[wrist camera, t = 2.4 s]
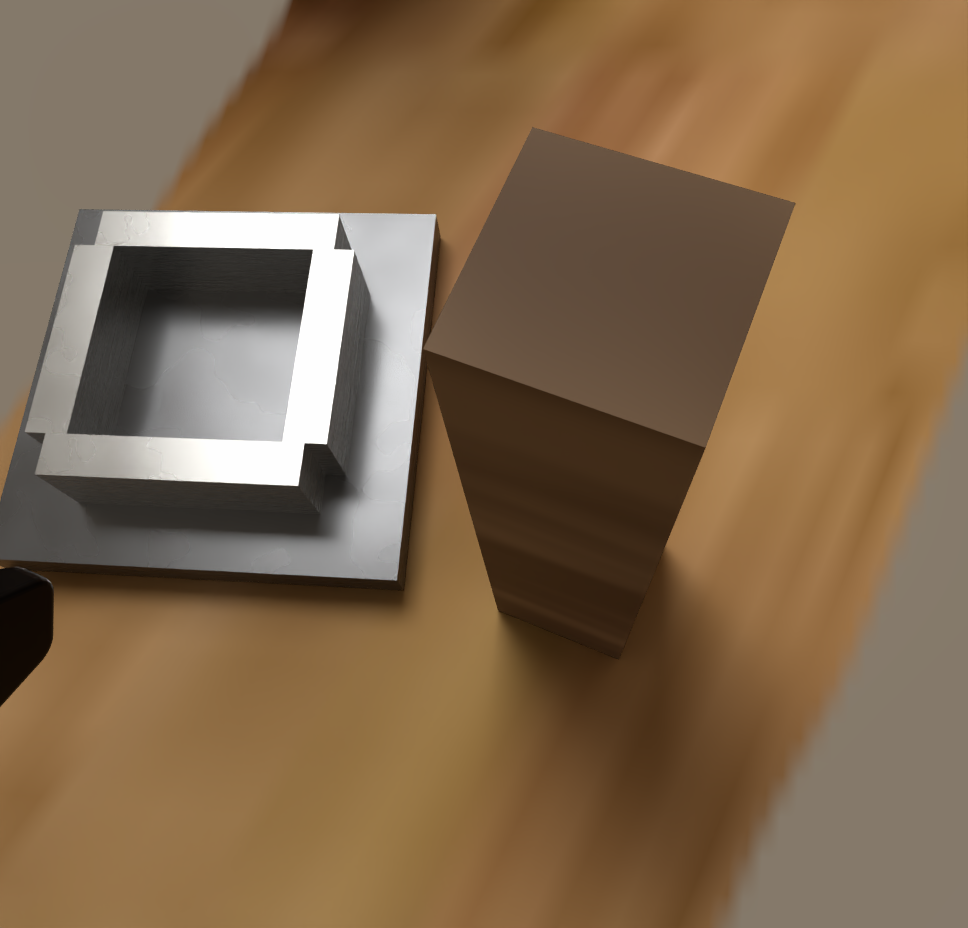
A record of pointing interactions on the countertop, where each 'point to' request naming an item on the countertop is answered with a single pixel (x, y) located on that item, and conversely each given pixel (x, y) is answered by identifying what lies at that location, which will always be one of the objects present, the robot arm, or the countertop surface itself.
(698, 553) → the countertop surface
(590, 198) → the walnut stick
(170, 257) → the square frame on plate
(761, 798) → the countertop surface
